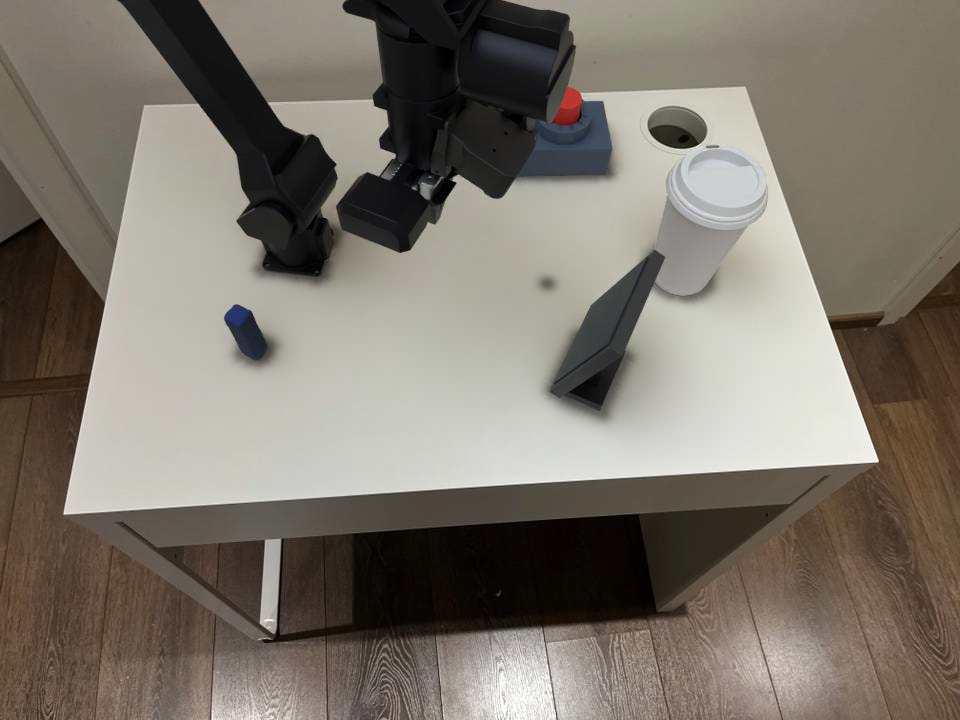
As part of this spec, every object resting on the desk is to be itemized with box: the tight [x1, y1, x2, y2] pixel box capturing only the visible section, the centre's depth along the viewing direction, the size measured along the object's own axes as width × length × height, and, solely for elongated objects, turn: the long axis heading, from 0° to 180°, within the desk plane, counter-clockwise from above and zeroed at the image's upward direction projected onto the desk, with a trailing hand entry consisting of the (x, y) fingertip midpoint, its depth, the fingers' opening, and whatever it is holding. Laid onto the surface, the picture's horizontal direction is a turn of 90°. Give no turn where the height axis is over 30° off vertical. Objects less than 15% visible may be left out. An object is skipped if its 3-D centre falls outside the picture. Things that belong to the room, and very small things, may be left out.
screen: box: [548, 249, 665, 399], centre depth 63 cm, size 1×11×12 cm, turn 154°
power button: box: [552, 86, 583, 125], centre depth 80 cm, size 4×4×2 cm
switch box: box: [517, 98, 613, 177], centre depth 83 cm, size 11×8×6 cm
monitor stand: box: [563, 350, 627, 411], centre depth 68 cm, size 5×7×6 cm
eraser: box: [223, 303, 268, 361], centre depth 68 cm, size 2×2×7 cm
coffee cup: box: [653, 143, 769, 297], centre depth 71 cm, size 10×10×15 cm
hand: (432, 220), depth 63 cm, fingers closed
